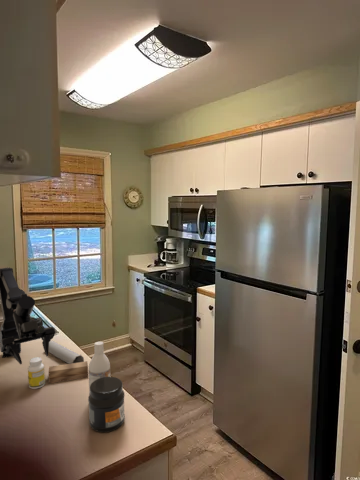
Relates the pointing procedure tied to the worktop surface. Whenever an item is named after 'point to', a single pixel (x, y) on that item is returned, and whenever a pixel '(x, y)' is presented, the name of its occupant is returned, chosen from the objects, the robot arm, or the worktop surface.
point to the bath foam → (98, 364)
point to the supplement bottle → (36, 373)
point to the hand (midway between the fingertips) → (34, 359)
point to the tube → (64, 353)
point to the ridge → (68, 372)
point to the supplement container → (106, 404)
